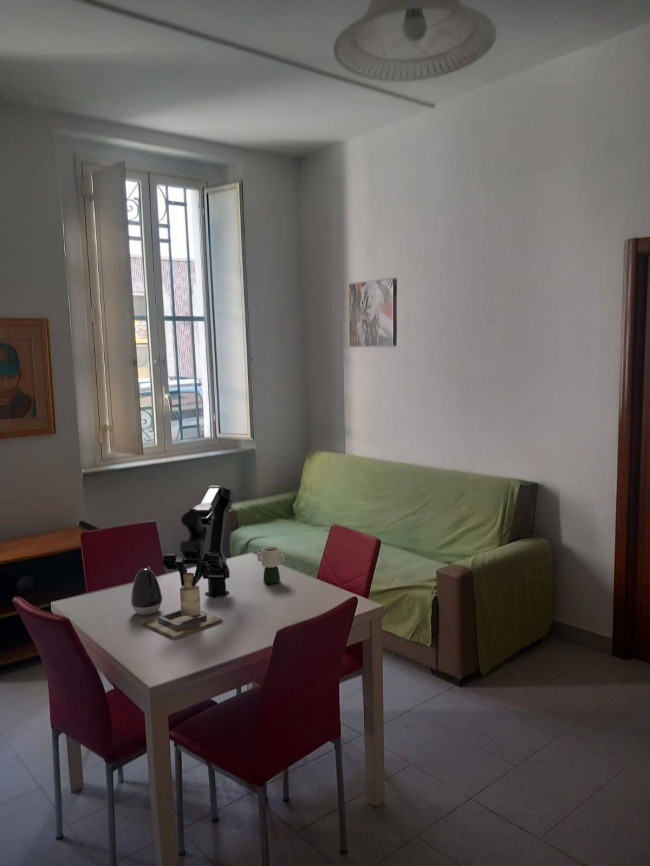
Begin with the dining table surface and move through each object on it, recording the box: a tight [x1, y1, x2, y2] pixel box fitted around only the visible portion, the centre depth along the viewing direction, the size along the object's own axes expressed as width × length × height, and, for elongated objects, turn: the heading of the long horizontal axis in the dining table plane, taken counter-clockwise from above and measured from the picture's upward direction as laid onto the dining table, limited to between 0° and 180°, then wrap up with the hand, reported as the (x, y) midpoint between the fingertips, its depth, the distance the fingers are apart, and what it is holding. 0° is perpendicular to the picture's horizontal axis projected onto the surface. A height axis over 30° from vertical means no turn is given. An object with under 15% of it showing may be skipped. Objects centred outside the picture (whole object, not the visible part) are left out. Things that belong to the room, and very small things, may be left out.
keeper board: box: [142, 608, 223, 641], centre depth 212 cm, size 18×18×2 cm
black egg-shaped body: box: [130, 566, 163, 616], centre depth 223 cm, size 10×10×15 cm
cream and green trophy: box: [257, 545, 285, 584], centre depth 249 cm, size 11×7×13 cm, turn 71°
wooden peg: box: [179, 572, 202, 616], centre depth 209 cm, size 6×6×12 cm
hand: (187, 586), depth 207 cm, fingers closed on wooden peg, 3 cm apart
